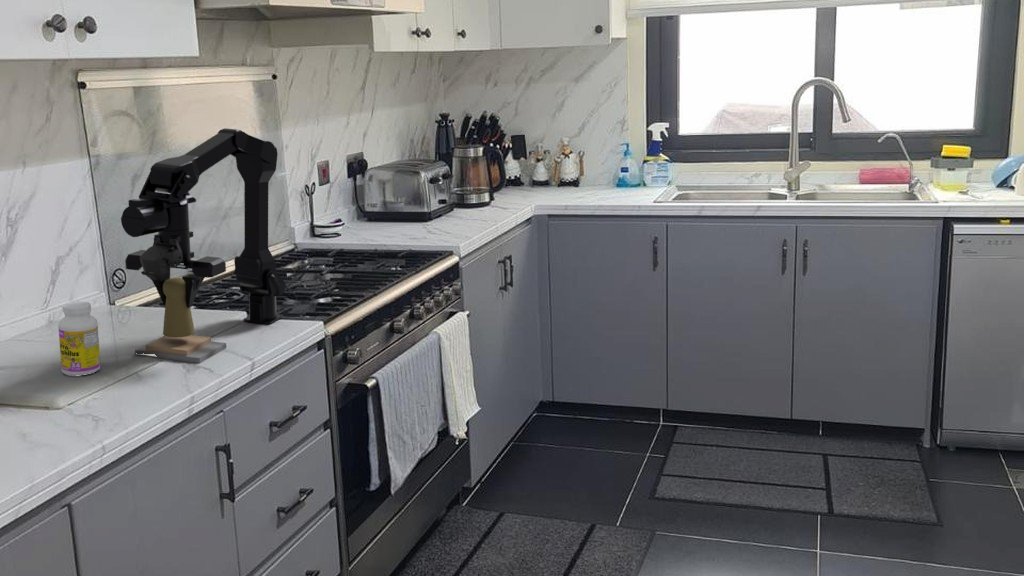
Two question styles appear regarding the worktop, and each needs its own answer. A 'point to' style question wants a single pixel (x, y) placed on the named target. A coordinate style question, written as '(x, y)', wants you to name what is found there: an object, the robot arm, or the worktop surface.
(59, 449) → the worktop surface
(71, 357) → the supplement bottle
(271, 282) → the robot arm
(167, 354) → the stand
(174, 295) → the cork
